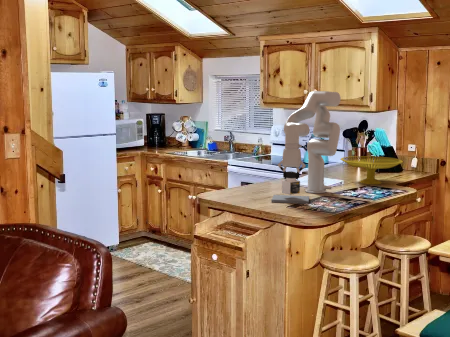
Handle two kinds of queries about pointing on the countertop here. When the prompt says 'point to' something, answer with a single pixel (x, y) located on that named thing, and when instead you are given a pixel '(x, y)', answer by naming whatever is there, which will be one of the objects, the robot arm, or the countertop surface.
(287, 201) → the serving board
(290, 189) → the medicine bottle
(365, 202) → the countertop surface
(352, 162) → the cake stand
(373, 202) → the countertop surface
